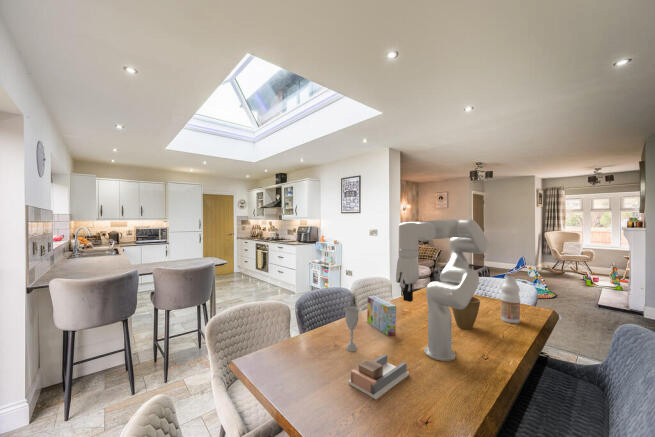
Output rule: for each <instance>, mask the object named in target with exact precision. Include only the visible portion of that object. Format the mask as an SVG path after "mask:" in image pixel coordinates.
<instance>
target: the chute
mask: <svg viewBox="0 0 655 437" xmlns="http://www.w3.org/2000/svg"><path fill="white" fill-rule="evenodd" d="M373 361H375V362H377V363H379V364H381V365H383V376H382V377H380V378H379V379H377V380H374V379H372V378H370V377H368V376H366V375H364V374H363V373H361V372H359V368H358V369H355V368H353V369H352V370H350V379H349V380H348V381H347V382H348V385H350V386H352V387H354V388H355V389H356V390H358V391H361V392H363V393H364V394H366V395H368V396H370V397H371V398H373V399H375V400H377V399H379V398H380V397H381V396H384V394H386V393H387V392H388V391H390V390H391V389H392V388H394V387H395V386H396V385H397V384H399V383H400V382H401V381H402V380H404V379H406V378H407V377H408V376H409V375H410V371H407V362H404V361H403V362H401V363H400V364H399V365H393V364H391V363H389V362H388V354H386V353H384V354H383V355H381V356H379V357H377V358H376V359H374V360H373Z"/></svg>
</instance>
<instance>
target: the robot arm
mask: <svg viewBox="0 0 655 437" xmlns="http://www.w3.org/2000/svg"><path fill="white" fill-rule="evenodd" d="M443 239H444V240H445V239H449V242H448V243H449V244H448V246H449V253H450V256H449V257H450V258H449V260H448V261H447V263H446V264H445V266H444V268H442V270H441V272H440V275H439V280H440V281H437V280H434V281H431V282H429V283H428V284H427V285H426V288H425V297H426V302H427V310H428V311H427V314H428V315H427V316H428V317H427V319H428V320H427V346H425V347H424V350H423V351H424V352H423V353H424V355H426V356H427V357H429V358H431V359H432V360H436V361H441V362H450V361H453V360H455V359H456V353H455V351H453V350H452V345H453V344H454V342H453V340H452V327H453V326H452V321H453V320H452V313H451V310H450V308H451V309H452V308H456V309H464V308H465V307H466V306H467V305H468V303H469V302H470V300H471V298H472V297H474V295H475V293H476V292H477V290H478V286H479V283H480V276H479V273H478V272H477V271H476V270H475V269H473V268H470V266H469V265H470V264H469V263H470V262H469V260H468V259H467V257H466V255H465V254H464V253H466V254H467V253H468V254H479V255H480V254H481V255H482V254H484V253H486V252H487V251H488V249H489V241H488V239H487V236H486V234H485V233H484V231H483V229H482V227H480V225H479V223H477V222H476V220H474V219H472V218H448V219H447V218H446V219H434V220H424V221H423V220H422V221H417V220H416V221H406V222H401V223H399V224H398V257H397V261H396V262H397V263H396V270H395V271H396V273H395V282H396V283H399V288H402V291H403V296H402V297H403V301H404V302H409V303H411V302H413V301H414V289H415V285H416V284H417V282H418V281H419V277H420V270H419V269H420V268H419V265H420V264H419V247H420V246H419V241H421V242H425V241H426V242H427V241H430V240H443Z"/></svg>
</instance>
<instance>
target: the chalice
mask: <svg viewBox="0 0 655 437" xmlns="http://www.w3.org/2000/svg"><path fill="white" fill-rule="evenodd" d="M344 311H345V322H346V325H347V327H348V329H349V330H350V333H349V334H350V337H349V339H350V341H349V342H348V343H347V346H346V348H345V349H346V350H347V351H349V352H356V351H357V350H358V348H357V347H358V346H357V345H356V343H355V342H354V337H353V336H354V330H355V329H356V327H357V325H358V323H359V312H360V308H359V307H356V306H345V307H344Z"/></svg>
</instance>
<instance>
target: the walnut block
mask: <svg viewBox="0 0 655 437" xmlns="http://www.w3.org/2000/svg"><path fill="white" fill-rule="evenodd" d="M358 369H359V372H361V373H363V374H364V375H366V376H368V377H370V378H372V379H374V380H377V379H379V378H380V377H382V376H383V365H381V364H379V363H377V362H375V361H374V360H372V359H370V358H368V359H366V360H365V361H363V362H361V363H359V364H358Z"/></svg>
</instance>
